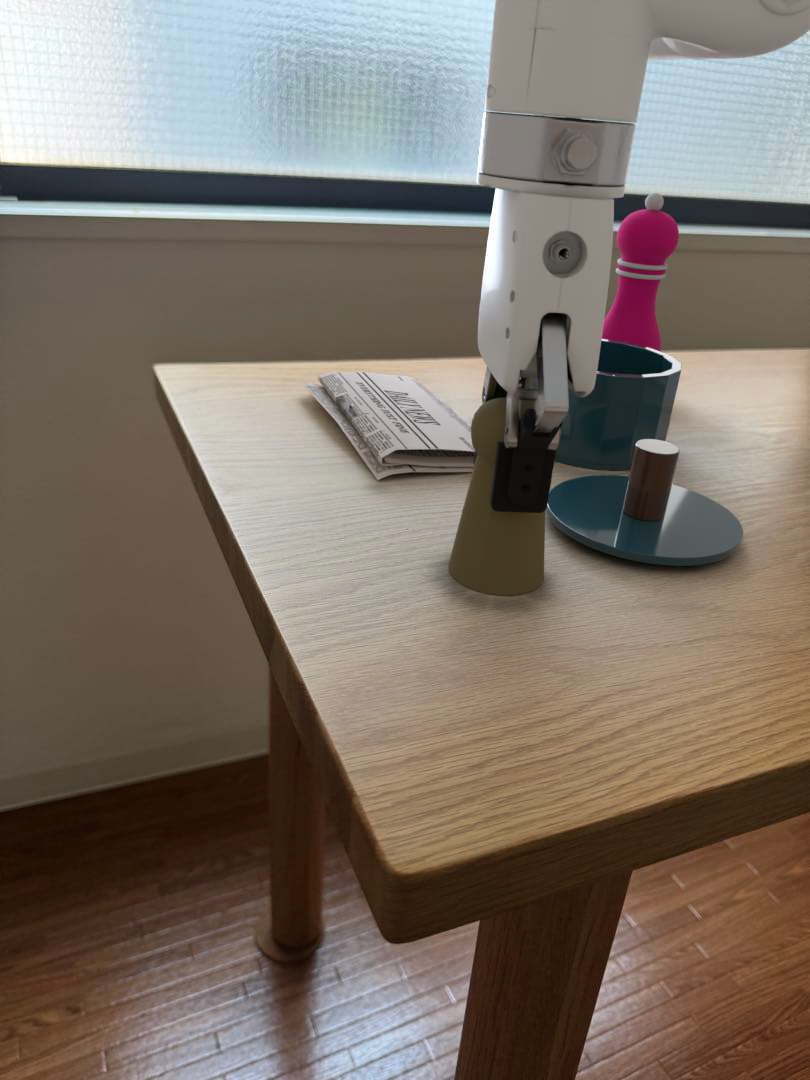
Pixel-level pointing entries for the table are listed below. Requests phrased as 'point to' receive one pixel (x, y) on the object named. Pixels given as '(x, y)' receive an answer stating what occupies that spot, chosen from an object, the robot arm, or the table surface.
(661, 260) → the pepper mill
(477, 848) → the table surface
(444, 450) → the newspaper
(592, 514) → the tin lid
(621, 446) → the tin
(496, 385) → the robot arm
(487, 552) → the olive brown pawn
